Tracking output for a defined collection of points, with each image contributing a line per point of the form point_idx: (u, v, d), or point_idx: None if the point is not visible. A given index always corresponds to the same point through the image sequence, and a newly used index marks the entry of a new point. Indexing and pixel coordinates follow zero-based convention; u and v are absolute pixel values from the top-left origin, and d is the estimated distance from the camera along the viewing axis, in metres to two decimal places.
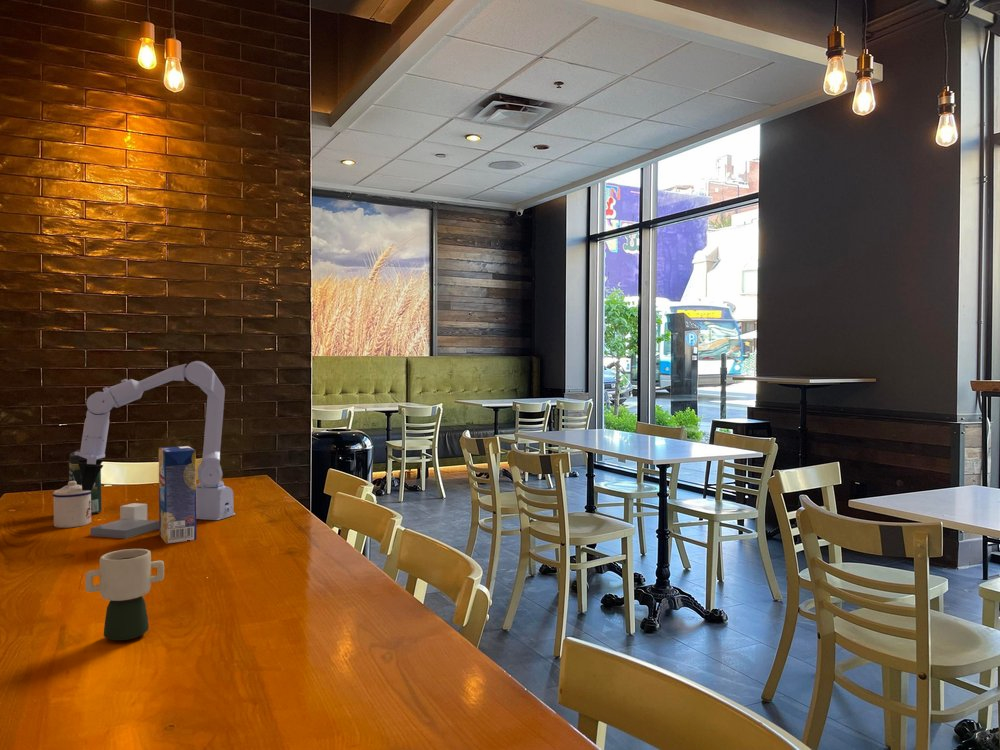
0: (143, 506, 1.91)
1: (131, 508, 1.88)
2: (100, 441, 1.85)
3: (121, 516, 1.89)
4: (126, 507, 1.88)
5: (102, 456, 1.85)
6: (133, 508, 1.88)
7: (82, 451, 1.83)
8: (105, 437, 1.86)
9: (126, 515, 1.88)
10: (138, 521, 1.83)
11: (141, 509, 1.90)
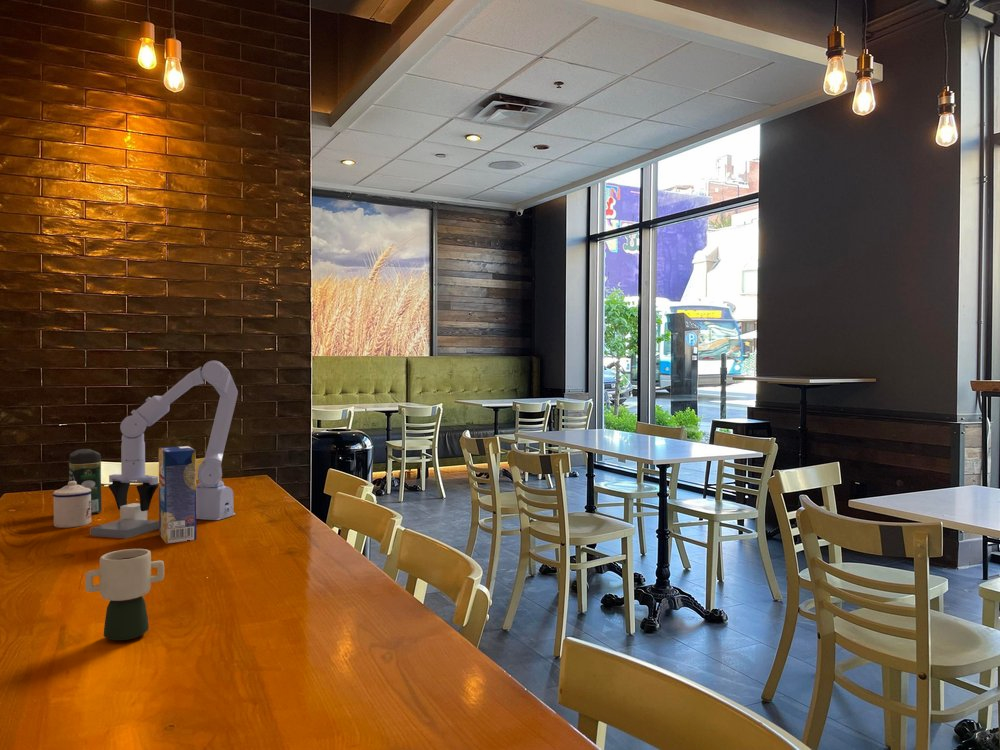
0: None
1: (131, 508, 1.88)
2: (144, 462, 1.91)
3: (121, 516, 1.89)
4: (126, 507, 1.88)
5: None
6: (133, 508, 1.88)
7: (131, 475, 1.88)
8: (143, 459, 1.90)
9: (126, 515, 1.88)
10: (138, 521, 1.83)
11: None
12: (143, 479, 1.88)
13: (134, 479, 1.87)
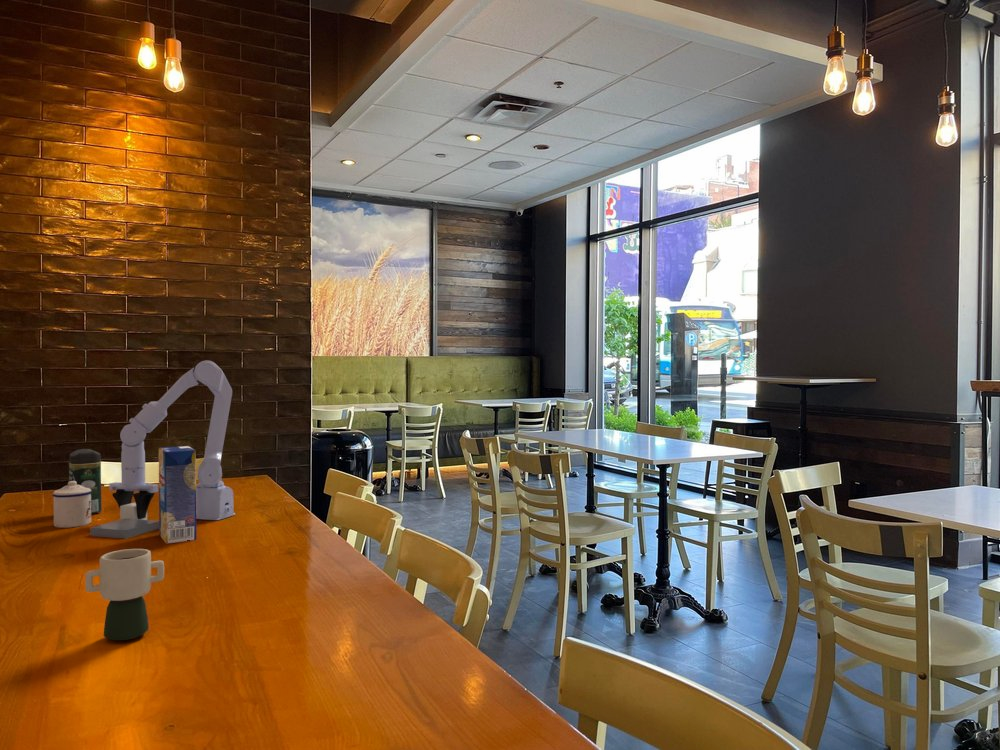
0: None
1: (131, 508, 1.88)
2: (144, 470, 1.91)
3: (121, 516, 1.89)
4: (126, 507, 1.88)
5: None
6: (133, 508, 1.88)
7: (131, 483, 1.88)
8: (143, 467, 1.90)
9: (126, 514, 1.88)
10: (138, 521, 1.83)
11: None
12: (143, 487, 1.88)
13: (134, 487, 1.87)
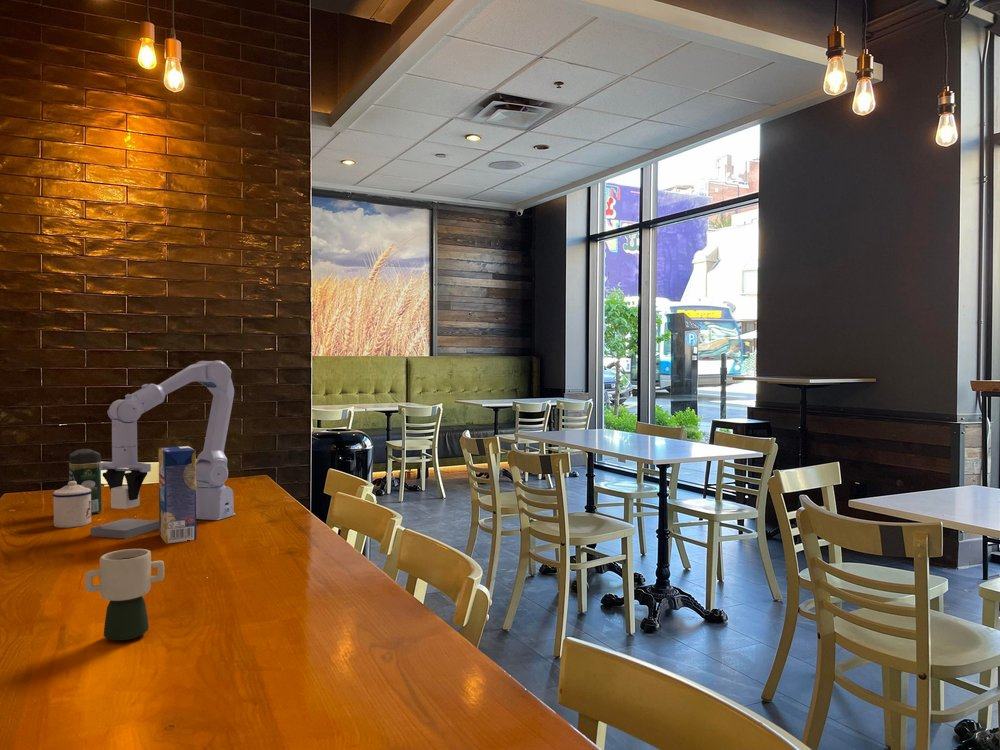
0: None
1: (122, 490, 1.78)
2: (136, 449, 1.81)
3: (112, 499, 1.78)
4: (117, 489, 1.78)
5: None
6: (125, 490, 1.77)
7: (122, 462, 1.77)
8: None
9: (117, 497, 1.78)
10: (138, 521, 1.83)
11: None
12: (135, 466, 1.77)
13: (125, 466, 1.77)
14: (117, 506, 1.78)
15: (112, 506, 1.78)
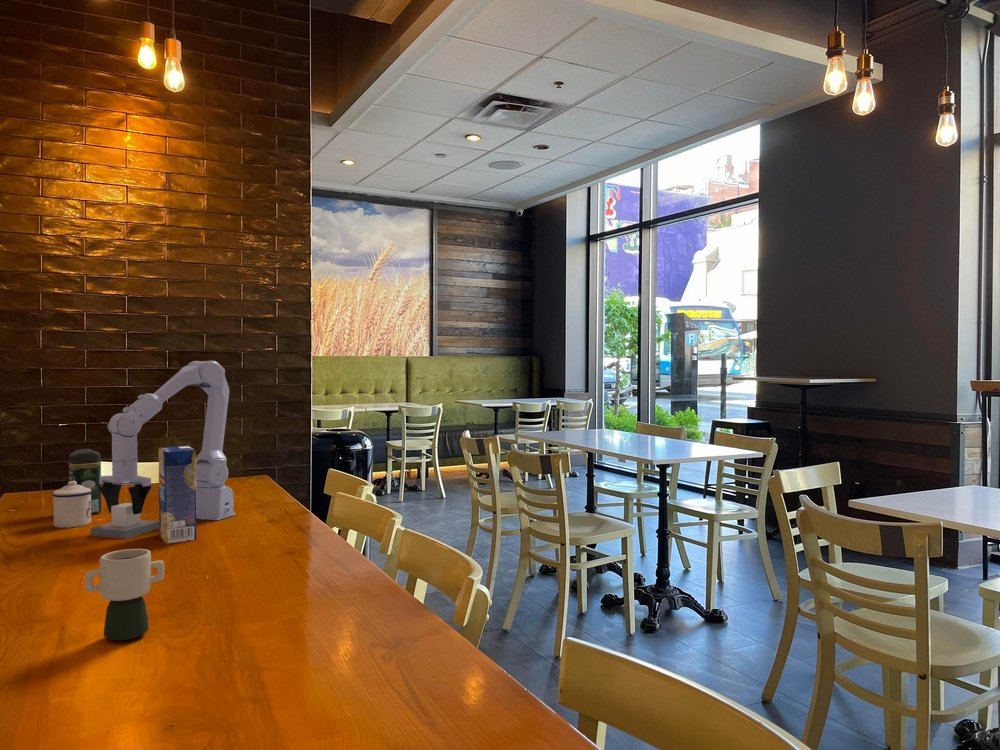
0: None
1: (123, 508, 1.77)
2: (136, 462, 1.81)
3: (112, 517, 1.78)
4: (117, 507, 1.78)
5: None
6: (125, 508, 1.77)
7: (122, 476, 1.77)
8: None
9: (117, 515, 1.78)
10: None
11: None
12: (135, 480, 1.77)
13: (126, 480, 1.77)
14: (118, 524, 1.78)
15: (113, 524, 1.78)
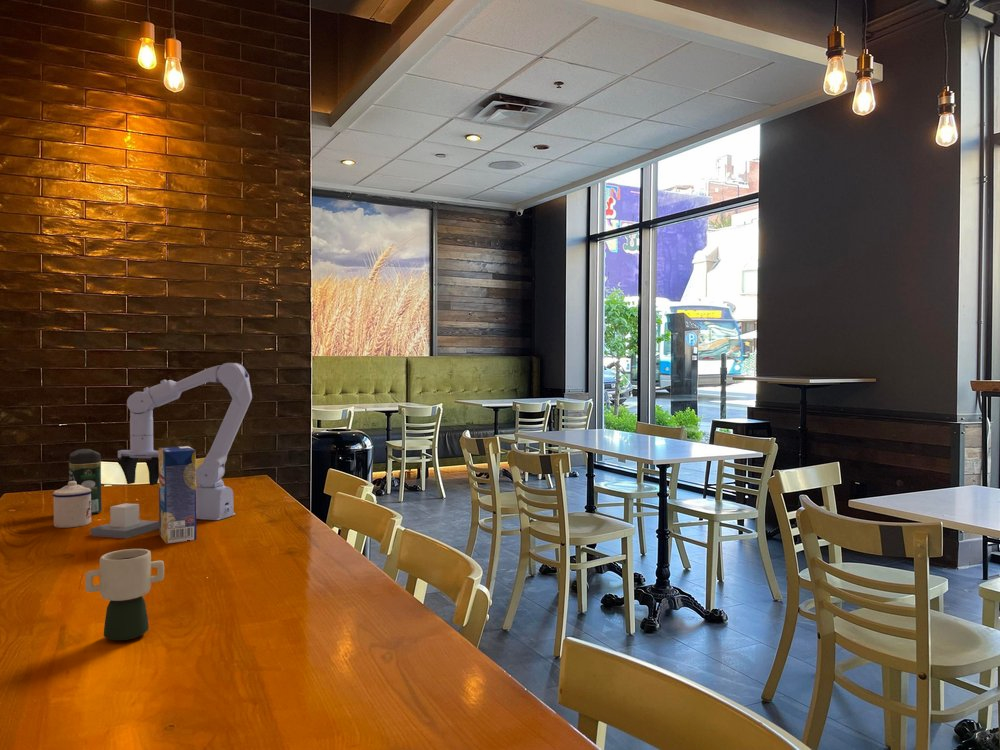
0: (135, 506, 1.80)
1: (122, 509, 1.77)
2: (152, 437, 1.95)
3: (111, 517, 1.78)
4: (117, 508, 1.78)
5: None
6: (124, 509, 1.77)
7: (140, 450, 1.92)
8: (150, 434, 1.94)
9: (116, 516, 1.78)
10: None
11: (133, 510, 1.80)
12: (152, 454, 1.92)
13: (143, 454, 1.91)
14: (117, 524, 1.78)
15: (112, 524, 1.78)
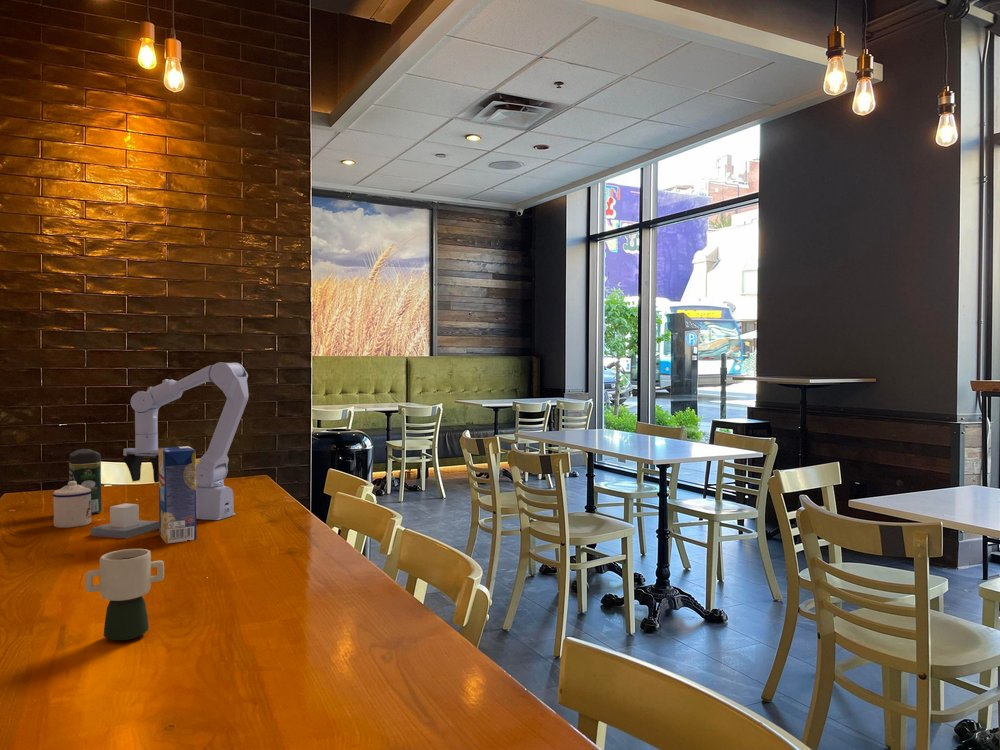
0: (134, 507, 1.80)
1: (121, 509, 1.77)
2: (157, 436, 1.99)
3: (111, 517, 1.78)
4: (116, 508, 1.78)
5: None
6: (123, 509, 1.77)
7: (145, 448, 1.96)
8: (153, 433, 1.97)
9: (116, 516, 1.78)
10: None
11: (132, 510, 1.79)
12: (156, 452, 1.96)
13: (148, 452, 1.96)
14: (116, 524, 1.78)
15: (111, 524, 1.78)
